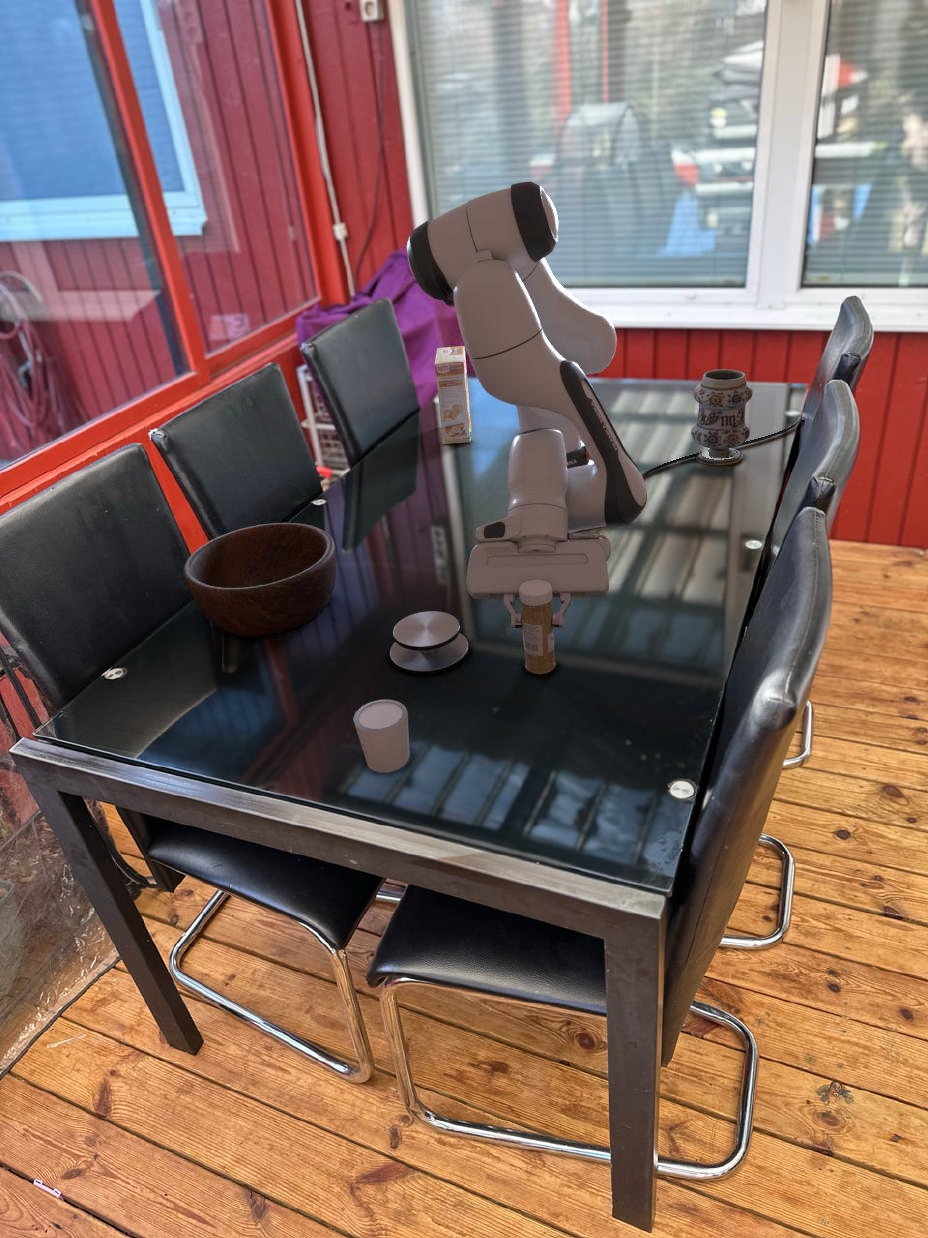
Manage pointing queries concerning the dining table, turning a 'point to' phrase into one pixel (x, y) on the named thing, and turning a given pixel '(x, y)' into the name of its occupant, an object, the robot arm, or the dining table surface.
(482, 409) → the dining table surface
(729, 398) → the apothecary jar
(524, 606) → the sprinkles bottle
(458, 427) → the coffeecake box
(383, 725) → the pale pink cup
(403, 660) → the stand
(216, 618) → the wooden bowl
